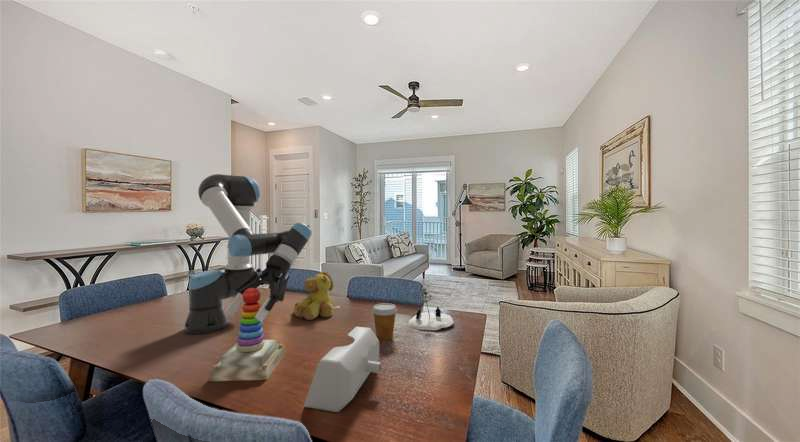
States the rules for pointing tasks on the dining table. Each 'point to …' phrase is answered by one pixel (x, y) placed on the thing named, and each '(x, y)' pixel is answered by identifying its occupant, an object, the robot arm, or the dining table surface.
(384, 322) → the disposable coffee cup
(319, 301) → the giraffe plush
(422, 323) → the figurine
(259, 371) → the plinth
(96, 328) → the dining table surface
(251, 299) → the stacking toy
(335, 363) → the tank
